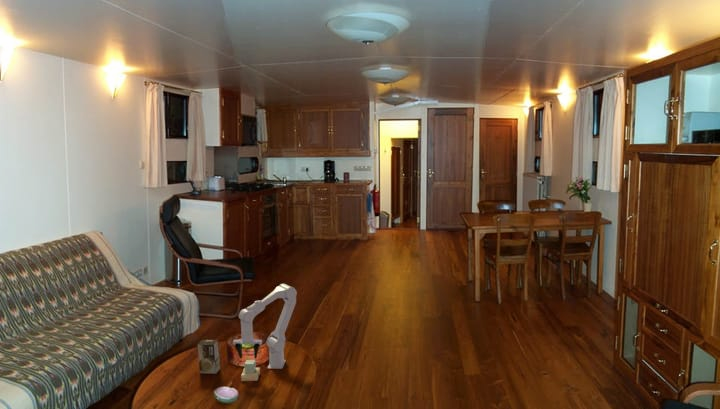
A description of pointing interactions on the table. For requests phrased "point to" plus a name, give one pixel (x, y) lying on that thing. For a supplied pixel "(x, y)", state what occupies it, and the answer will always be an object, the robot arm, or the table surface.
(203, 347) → the coffee box
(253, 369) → the pale grey cube
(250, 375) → the birch block
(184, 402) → the table surface
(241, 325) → the robot arm
